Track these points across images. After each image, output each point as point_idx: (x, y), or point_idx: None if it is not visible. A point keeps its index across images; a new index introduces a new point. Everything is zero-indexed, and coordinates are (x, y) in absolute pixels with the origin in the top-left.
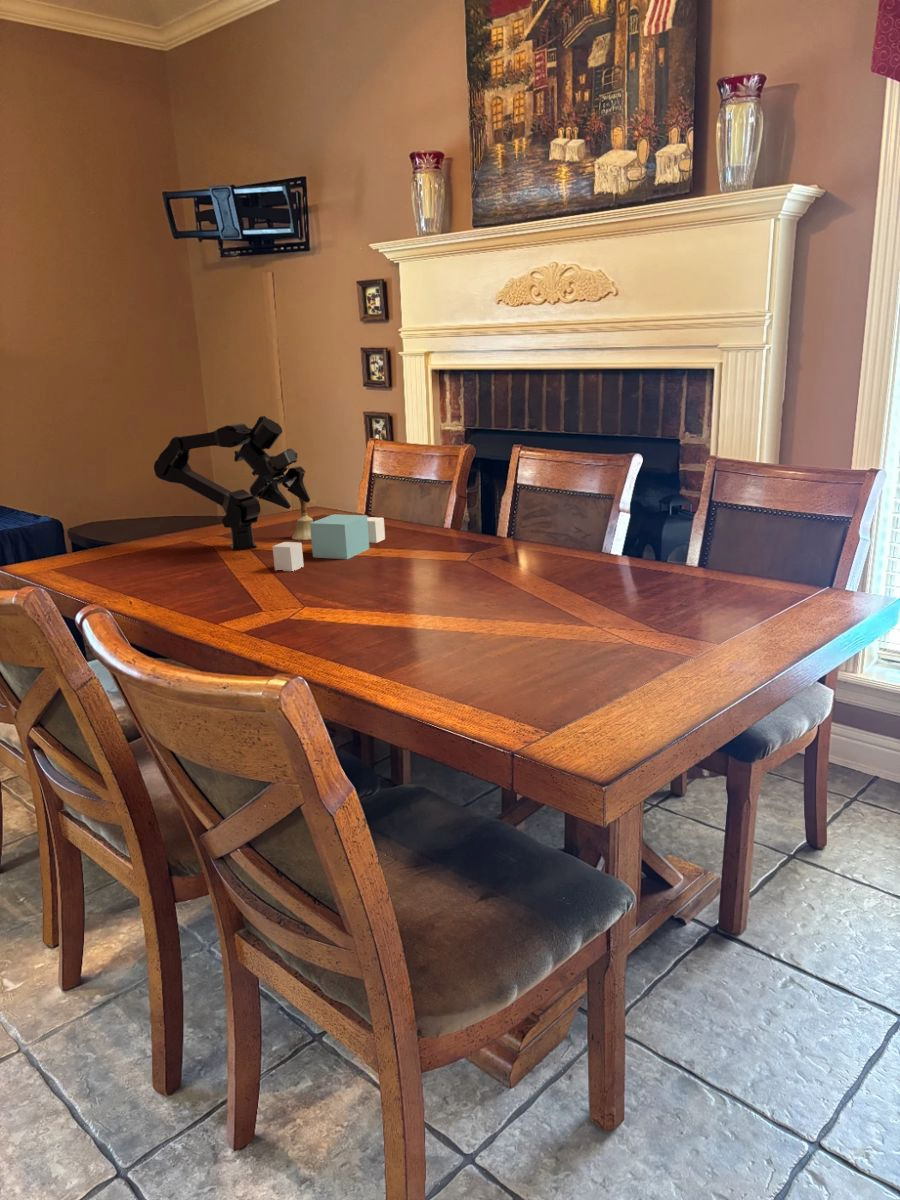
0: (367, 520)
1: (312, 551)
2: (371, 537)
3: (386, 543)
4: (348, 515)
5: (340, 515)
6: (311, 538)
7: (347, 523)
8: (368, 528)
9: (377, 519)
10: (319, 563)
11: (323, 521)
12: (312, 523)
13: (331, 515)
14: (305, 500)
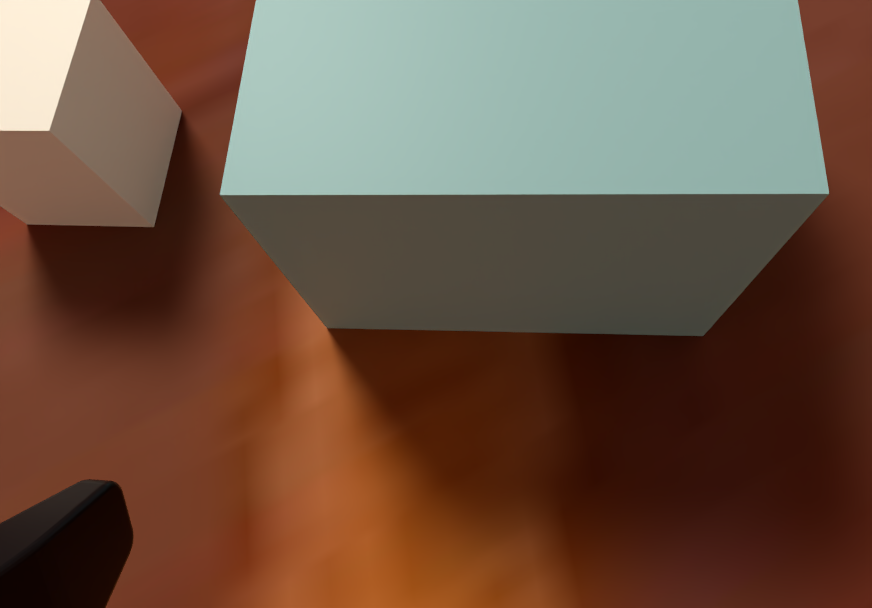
0: (49, 63)
1: (717, 319)
2: (155, 120)
3: (199, 46)
4: (290, 5)
5: (290, 85)
6: (757, 271)
7: None
8: (113, 93)
9: (15, 6)
10: (865, 189)
11: (674, 91)
12: (820, 161)
13: (296, 181)
14: (101, 592)
